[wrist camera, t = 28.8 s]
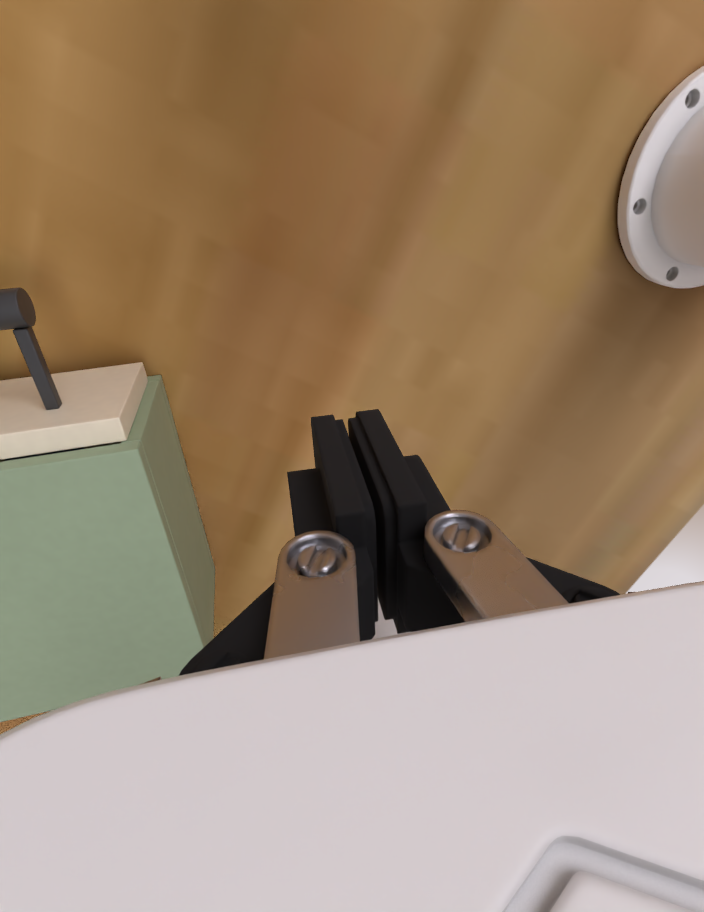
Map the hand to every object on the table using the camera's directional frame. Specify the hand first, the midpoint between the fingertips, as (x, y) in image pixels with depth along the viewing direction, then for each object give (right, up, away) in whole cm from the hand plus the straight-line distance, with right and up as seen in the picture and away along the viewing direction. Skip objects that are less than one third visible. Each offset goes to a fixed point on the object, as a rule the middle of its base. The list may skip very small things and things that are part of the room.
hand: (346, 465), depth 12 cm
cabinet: (-17, -3, +20) cm, 27 cm away
